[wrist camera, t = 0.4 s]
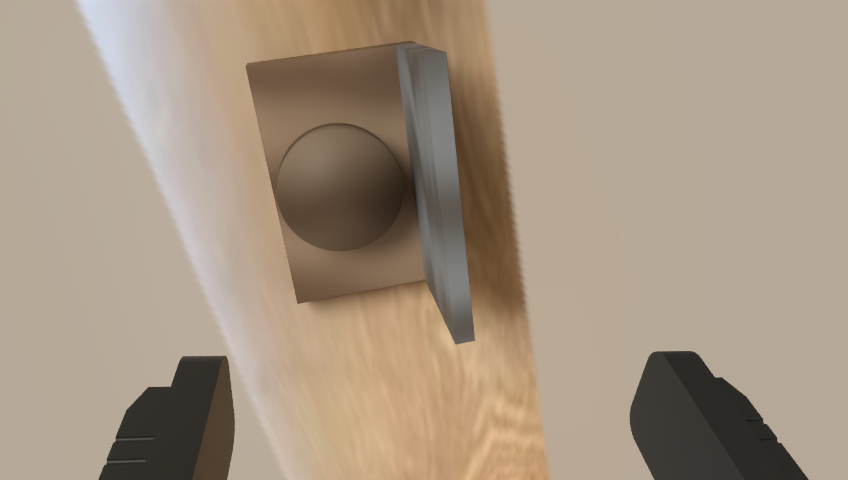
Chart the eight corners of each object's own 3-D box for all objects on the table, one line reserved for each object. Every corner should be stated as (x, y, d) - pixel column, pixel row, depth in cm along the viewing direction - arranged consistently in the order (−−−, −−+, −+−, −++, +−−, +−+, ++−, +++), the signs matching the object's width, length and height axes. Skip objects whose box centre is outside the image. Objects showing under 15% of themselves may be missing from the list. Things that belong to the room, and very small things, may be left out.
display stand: (247, 63, 33) (229, 82, 24) (410, 41, 34) (448, 52, 26) (297, 293, 38) (297, 377, 30) (437, 266, 40) (476, 340, 31)
